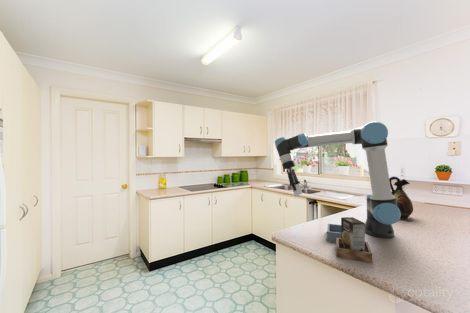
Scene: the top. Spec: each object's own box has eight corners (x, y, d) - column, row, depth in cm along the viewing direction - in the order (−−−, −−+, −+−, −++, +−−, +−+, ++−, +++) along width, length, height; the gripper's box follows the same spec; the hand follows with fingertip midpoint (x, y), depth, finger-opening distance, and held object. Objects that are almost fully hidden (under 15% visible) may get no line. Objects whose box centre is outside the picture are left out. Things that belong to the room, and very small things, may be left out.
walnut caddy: (367, 249, 106) (367, 241, 106) (372, 262, 94) (372, 253, 93) (336, 245, 112) (336, 237, 112) (336, 257, 99) (336, 248, 99)
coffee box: (340, 249, 107) (340, 217, 107) (353, 248, 108) (352, 216, 107) (352, 258, 98) (351, 223, 98) (365, 257, 99) (365, 222, 98)
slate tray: (355, 235, 125) (355, 226, 125) (358, 245, 112) (358, 235, 112) (327, 231, 132) (327, 223, 132) (327, 240, 118) (327, 231, 118)
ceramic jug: (411, 216, 160) (411, 176, 160) (414, 222, 147) (414, 178, 147) (383, 213, 169) (383, 175, 169) (384, 218, 156) (384, 177, 156)
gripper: (285, 164, 146) (295, 194, 142) (277, 162, 123) (289, 198, 119) (296, 160, 143) (307, 191, 139) (289, 158, 121) (302, 195, 116)
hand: (299, 195), depth 129 cm, fingers open, 13 cm apart
